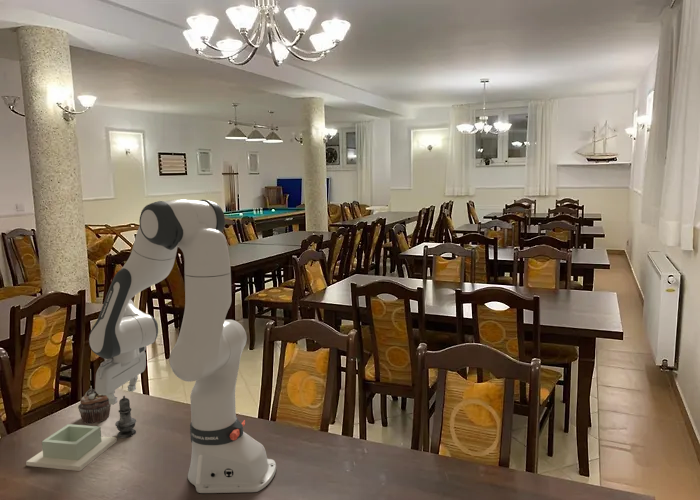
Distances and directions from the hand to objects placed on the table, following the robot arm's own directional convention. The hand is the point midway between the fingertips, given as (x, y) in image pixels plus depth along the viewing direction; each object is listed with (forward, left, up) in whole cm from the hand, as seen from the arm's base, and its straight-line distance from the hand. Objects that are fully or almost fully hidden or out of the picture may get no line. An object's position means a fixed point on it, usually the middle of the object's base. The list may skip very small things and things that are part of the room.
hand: (122, 396), depth 160 cm
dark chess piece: (-1, 0, -12) cm, 12 cm away
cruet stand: (+7, +13, -11) cm, 19 cm away
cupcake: (+15, -8, -12) cm, 21 cm away
